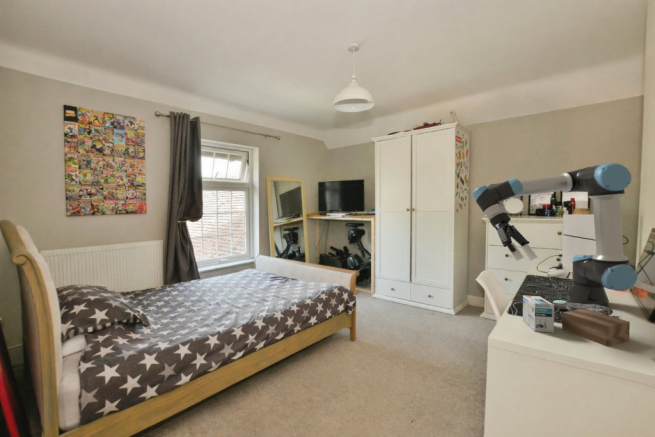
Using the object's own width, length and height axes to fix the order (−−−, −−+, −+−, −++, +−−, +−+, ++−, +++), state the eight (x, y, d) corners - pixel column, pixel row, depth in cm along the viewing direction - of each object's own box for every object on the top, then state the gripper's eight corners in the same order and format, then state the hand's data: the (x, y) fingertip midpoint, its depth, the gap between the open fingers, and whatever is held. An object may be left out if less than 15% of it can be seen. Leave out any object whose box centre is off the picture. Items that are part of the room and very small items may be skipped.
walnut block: (583, 326, 117) (584, 308, 117) (629, 341, 103) (629, 321, 103) (562, 330, 113) (562, 312, 113) (606, 346, 100) (606, 326, 100)
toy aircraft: (556, 304, 142) (556, 293, 142) (614, 315, 127) (615, 303, 127) (547, 313, 131) (548, 300, 131) (610, 326, 116) (610, 312, 116)
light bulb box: (554, 333, 110) (555, 304, 110) (534, 331, 112) (534, 303, 111) (540, 322, 121) (540, 295, 120) (521, 321, 122) (522, 295, 122)
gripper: (502, 223, 142) (531, 262, 131) (475, 219, 127) (505, 263, 116) (517, 213, 137) (547, 254, 126) (491, 208, 122) (523, 254, 111)
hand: (527, 259), depth 121 cm, fingers open, 13 cm apart
